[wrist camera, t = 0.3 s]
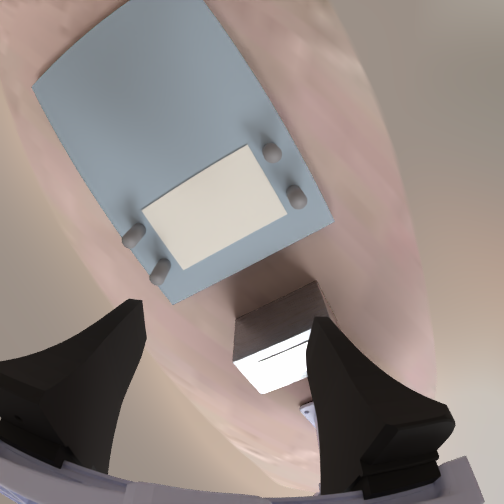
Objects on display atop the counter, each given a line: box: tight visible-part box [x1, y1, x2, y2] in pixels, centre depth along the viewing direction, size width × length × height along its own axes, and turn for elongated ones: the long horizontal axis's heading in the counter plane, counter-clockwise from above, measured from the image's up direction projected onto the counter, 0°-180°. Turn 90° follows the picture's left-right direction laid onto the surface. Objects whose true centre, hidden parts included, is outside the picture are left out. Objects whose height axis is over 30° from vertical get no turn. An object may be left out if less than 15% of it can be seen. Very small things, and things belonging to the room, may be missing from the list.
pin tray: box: [32, 0, 335, 305], centre depth 17 cm, size 20×13×3 cm, turn 30°
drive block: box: [233, 281, 340, 394], centre depth 22 cm, size 4×7×5 cm, turn 120°
